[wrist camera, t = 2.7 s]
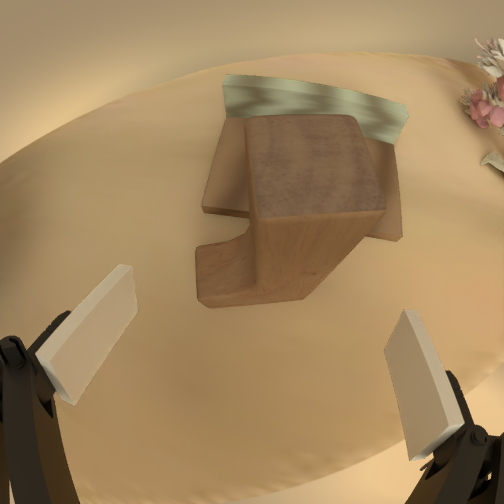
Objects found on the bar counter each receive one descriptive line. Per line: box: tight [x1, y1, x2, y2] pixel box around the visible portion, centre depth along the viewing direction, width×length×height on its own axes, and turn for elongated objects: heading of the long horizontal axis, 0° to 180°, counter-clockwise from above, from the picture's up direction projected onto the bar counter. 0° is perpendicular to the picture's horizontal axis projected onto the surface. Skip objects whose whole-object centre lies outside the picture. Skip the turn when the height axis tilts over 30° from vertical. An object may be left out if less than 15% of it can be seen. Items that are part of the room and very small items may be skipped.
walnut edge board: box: [201, 74, 409, 242], centre depth 27 cm, size 20×14×6 cm
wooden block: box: [195, 114, 386, 308], centre depth 18 cm, size 9×4×18 cm, turn 95°
